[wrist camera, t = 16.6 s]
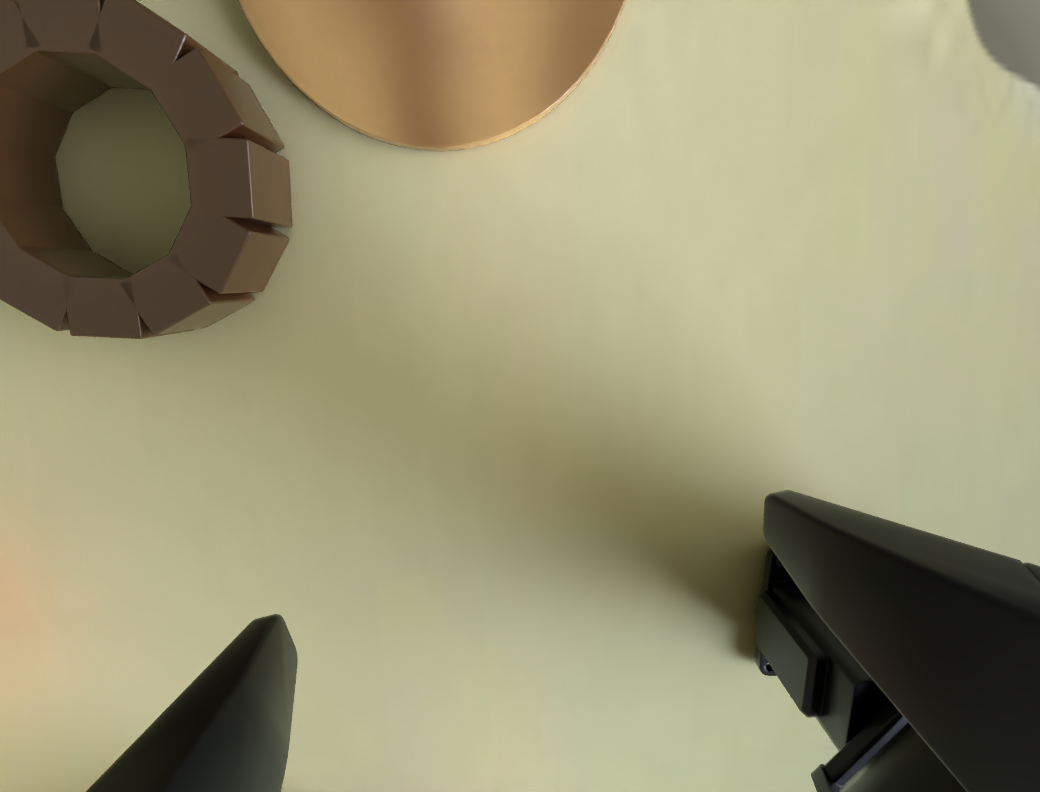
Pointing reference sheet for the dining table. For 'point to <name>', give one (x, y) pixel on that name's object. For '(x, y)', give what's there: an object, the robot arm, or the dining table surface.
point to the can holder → (210, 160)
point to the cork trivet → (435, 62)
